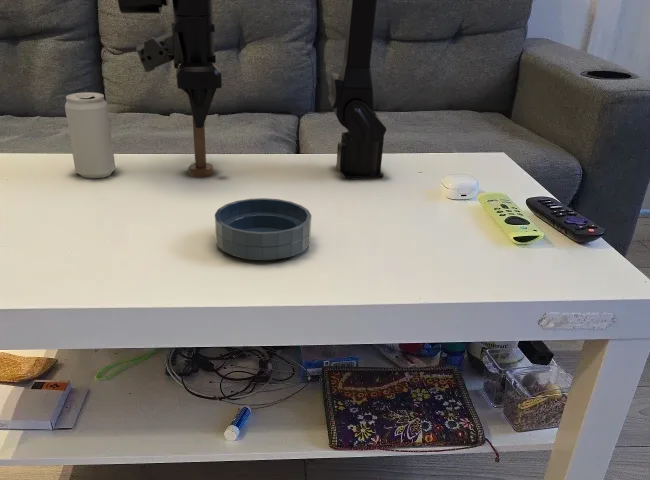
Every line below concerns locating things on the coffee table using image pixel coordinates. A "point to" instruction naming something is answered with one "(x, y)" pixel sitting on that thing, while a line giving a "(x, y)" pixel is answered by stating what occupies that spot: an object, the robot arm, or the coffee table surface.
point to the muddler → (200, 155)
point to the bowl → (262, 228)
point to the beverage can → (90, 134)
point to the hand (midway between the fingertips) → (198, 126)
